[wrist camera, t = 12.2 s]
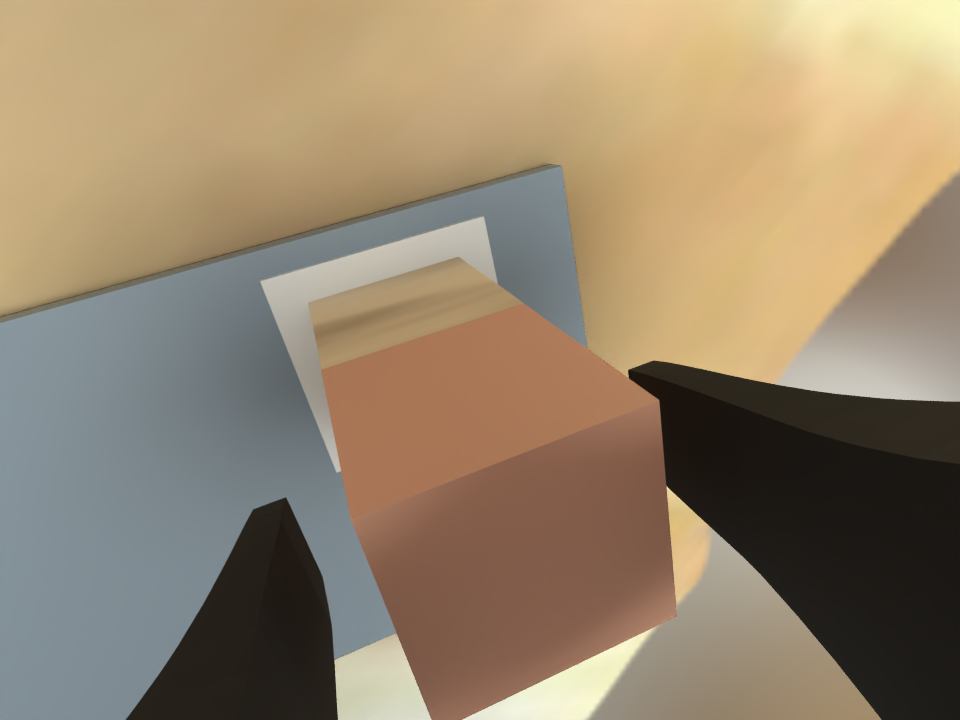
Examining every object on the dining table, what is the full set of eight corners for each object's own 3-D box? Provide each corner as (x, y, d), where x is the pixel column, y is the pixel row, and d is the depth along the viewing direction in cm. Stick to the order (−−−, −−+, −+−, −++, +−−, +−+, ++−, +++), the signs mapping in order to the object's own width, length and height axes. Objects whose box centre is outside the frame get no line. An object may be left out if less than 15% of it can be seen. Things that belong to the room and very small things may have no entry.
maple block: (489, 387, 19) (555, 466, 14) (356, 434, 18) (384, 534, 14) (458, 256, 17) (523, 303, 12) (308, 302, 16) (321, 369, 12)
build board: (604, 525, 24) (616, 540, 23) (45, 766, 20) (35, 795, 19) (550, 164, 18) (564, 166, 17) (-302, 401, 13) (-343, 421, 12)
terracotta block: (554, 467, 14) (676, 616, 10) (383, 534, 14) (436, 731, 9) (523, 302, 12) (659, 400, 8) (320, 369, 12) (351, 519, 7)
